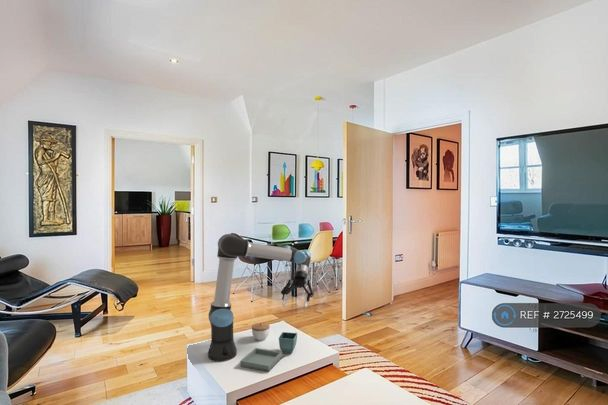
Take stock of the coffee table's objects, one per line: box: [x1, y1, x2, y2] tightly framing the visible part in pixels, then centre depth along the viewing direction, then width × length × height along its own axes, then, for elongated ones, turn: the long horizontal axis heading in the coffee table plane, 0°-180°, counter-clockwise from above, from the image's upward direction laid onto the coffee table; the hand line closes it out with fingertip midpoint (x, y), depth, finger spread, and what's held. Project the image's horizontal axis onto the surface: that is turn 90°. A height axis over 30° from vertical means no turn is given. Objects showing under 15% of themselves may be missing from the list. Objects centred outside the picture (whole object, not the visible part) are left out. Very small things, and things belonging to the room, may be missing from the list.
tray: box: [239, 347, 283, 373], centre depth 170 cm, size 16×16×3 cm
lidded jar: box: [251, 322, 270, 341], centre depth 201 cm, size 11×11×9 cm
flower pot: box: [278, 331, 298, 355], centre depth 182 cm, size 9×9×9 cm
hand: (294, 306), depth 190 cm, fingers open, 13 cm apart
